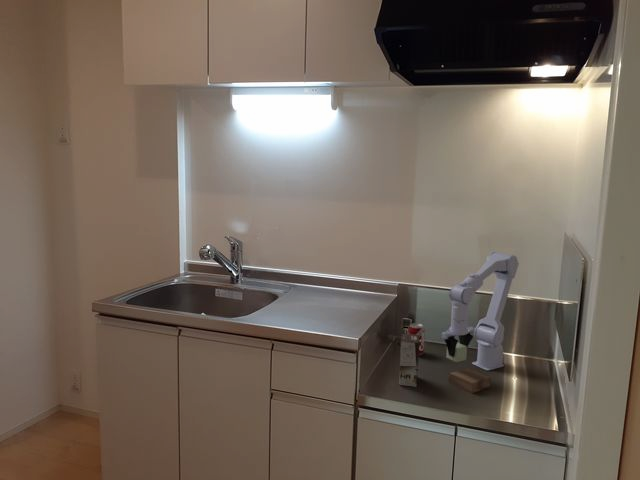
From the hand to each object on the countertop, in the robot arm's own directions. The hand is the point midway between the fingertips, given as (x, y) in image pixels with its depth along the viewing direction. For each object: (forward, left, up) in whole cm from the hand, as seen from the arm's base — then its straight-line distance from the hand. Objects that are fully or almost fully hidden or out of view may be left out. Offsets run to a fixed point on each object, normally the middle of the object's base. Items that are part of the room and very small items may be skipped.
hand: (457, 354), depth 192 cm
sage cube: (0, 0, -2) cm, 2 cm away
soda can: (-2, -25, -9) cm, 26 cm away
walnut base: (+1, +7, -9) cm, 12 cm away
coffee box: (+18, -6, -9) cm, 21 cm away
